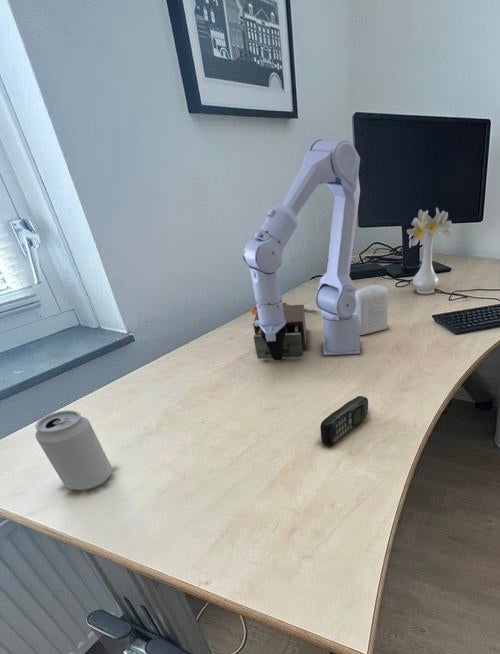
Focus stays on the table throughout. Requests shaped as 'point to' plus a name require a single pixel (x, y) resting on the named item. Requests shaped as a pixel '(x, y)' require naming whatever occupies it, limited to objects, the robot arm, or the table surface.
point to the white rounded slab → (371, 308)
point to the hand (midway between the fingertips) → (278, 359)
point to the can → (73, 449)
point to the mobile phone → (343, 420)
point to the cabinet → (292, 320)
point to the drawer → (290, 344)
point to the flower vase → (428, 247)
